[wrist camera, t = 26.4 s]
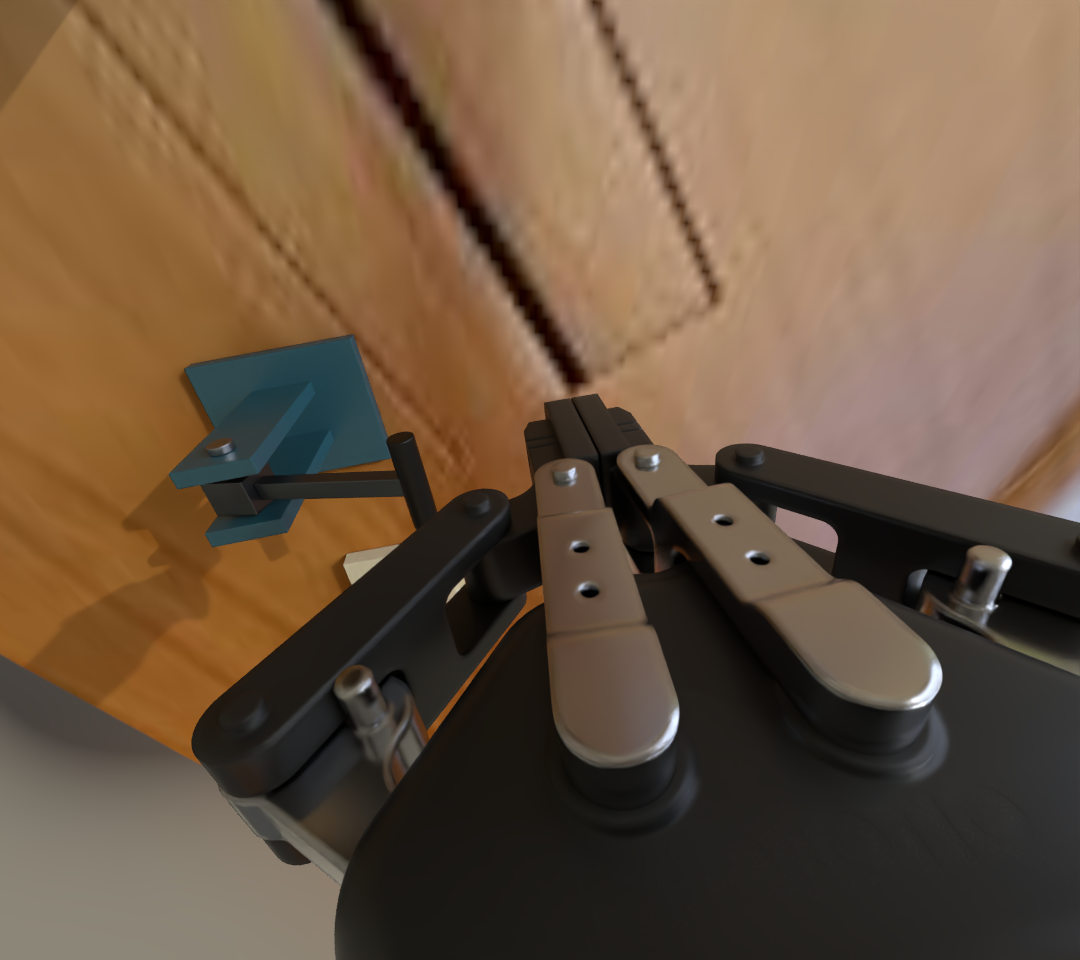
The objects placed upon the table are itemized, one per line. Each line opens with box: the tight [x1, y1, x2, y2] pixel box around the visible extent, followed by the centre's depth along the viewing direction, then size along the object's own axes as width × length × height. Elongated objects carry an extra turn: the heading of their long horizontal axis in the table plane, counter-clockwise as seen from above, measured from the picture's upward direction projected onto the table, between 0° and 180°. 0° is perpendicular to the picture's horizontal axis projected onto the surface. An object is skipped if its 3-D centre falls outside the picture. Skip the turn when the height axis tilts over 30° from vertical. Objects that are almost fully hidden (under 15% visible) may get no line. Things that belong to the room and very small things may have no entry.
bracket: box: [169, 335, 391, 547], centre depth 35 cm, size 12×10×14 cm
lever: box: [200, 432, 437, 529], centre depth 29 cm, size 13×6×2 cm, turn 99°
